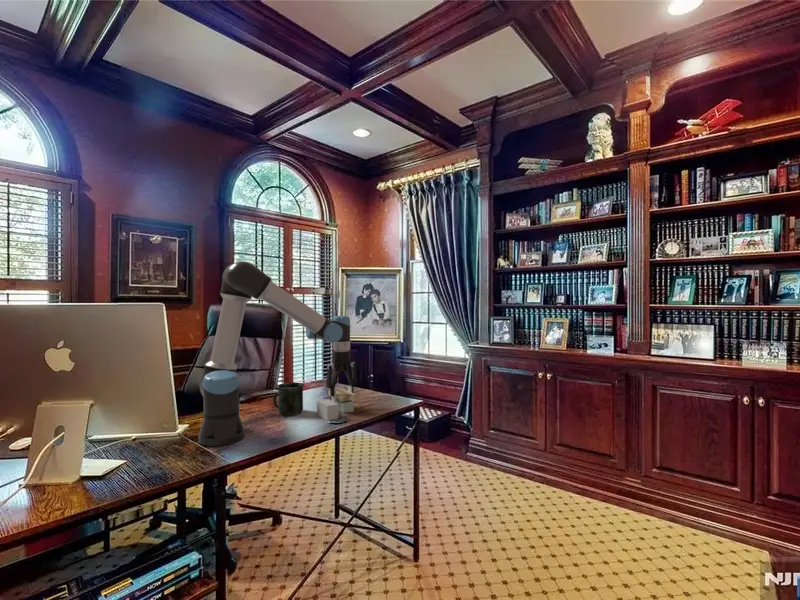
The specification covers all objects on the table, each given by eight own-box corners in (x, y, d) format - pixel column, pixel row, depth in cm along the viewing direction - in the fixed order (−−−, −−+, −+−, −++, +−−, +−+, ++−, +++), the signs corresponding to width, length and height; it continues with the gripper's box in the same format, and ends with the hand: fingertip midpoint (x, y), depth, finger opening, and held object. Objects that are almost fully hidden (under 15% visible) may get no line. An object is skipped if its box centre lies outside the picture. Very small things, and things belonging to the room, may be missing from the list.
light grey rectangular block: (327, 420, 168) (327, 406, 168) (317, 414, 176) (317, 400, 176) (338, 418, 171) (338, 404, 171) (328, 412, 179) (328, 399, 179)
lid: (342, 401, 177) (342, 396, 177) (328, 395, 188) (328, 390, 188) (356, 399, 181) (356, 394, 180) (342, 392, 192) (342, 388, 192)
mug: (309, 411, 181) (309, 384, 181) (282, 419, 170) (282, 390, 169) (293, 407, 188) (292, 381, 188) (265, 415, 176) (265, 387, 176)
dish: (343, 413, 178) (343, 403, 178) (331, 407, 188) (331, 397, 188) (353, 411, 181) (353, 401, 181) (341, 405, 191) (341, 395, 191)
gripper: (324, 353, 175) (324, 407, 176) (365, 349, 187) (365, 400, 187) (317, 351, 181) (317, 403, 182) (357, 347, 193) (357, 396, 193)
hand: (342, 401), depth 184 cm, fingers closed on lid, 7 cm apart
